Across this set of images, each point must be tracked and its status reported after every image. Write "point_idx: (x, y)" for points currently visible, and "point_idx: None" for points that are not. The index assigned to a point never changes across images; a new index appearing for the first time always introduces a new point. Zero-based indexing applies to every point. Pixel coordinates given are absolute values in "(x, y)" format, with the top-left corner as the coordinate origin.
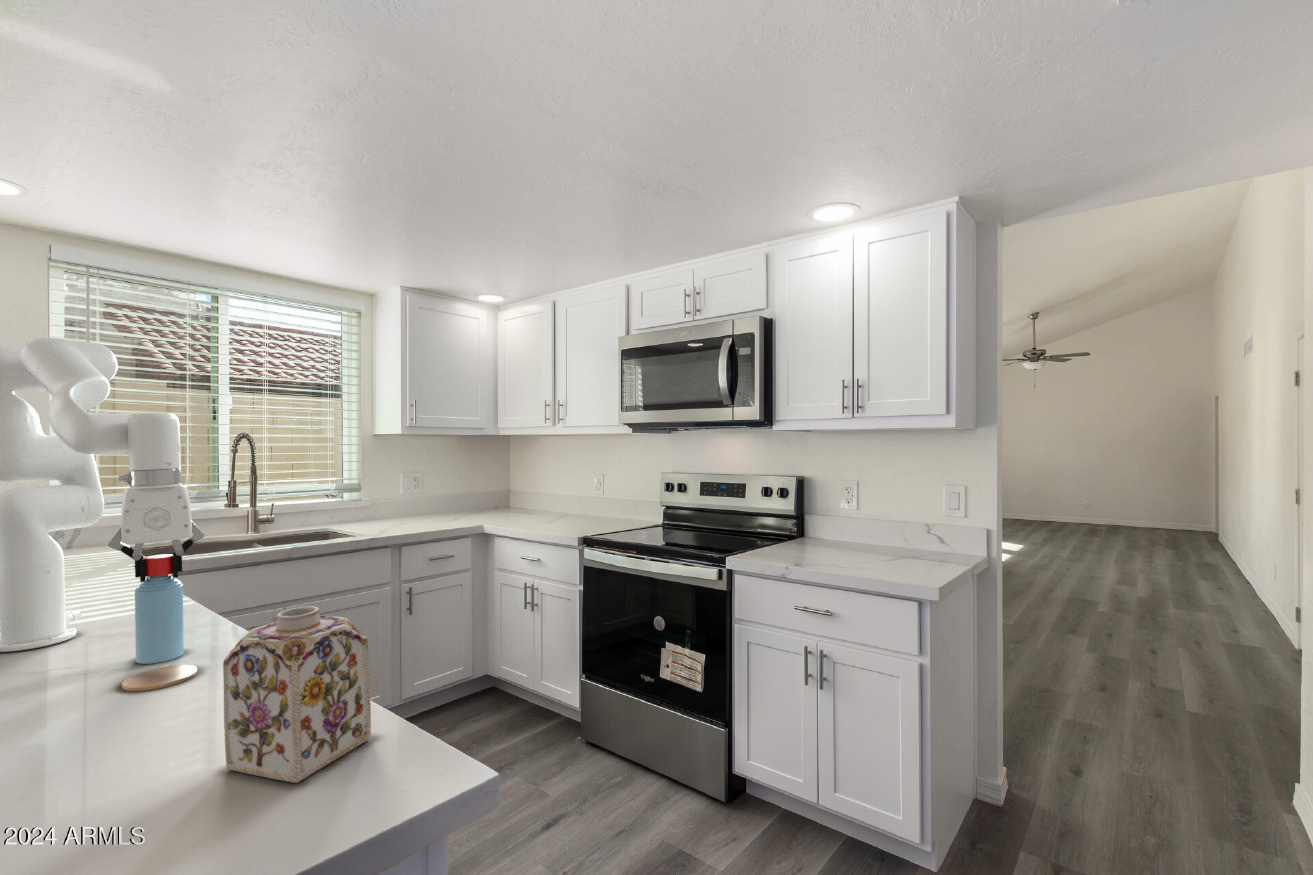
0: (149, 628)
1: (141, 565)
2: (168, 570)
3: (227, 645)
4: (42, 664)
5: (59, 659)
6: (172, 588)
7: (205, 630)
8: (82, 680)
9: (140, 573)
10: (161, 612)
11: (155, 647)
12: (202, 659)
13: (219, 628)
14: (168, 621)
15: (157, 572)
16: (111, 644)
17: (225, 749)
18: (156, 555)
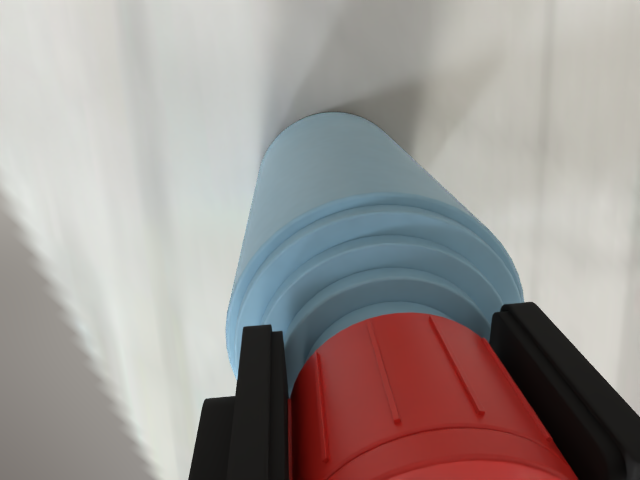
0: (386, 142)
1: (610, 403)
2: (323, 370)
3: (108, 196)
4: (634, 342)
5: (594, 367)
6: (284, 232)
7: None
8: (558, 50)
9: (567, 342)
10: (341, 154)
11: (349, 122)
12: (177, 38)
13: (173, 445)
14: (305, 150)
15: (420, 332)
16: None
17: None
18: None
